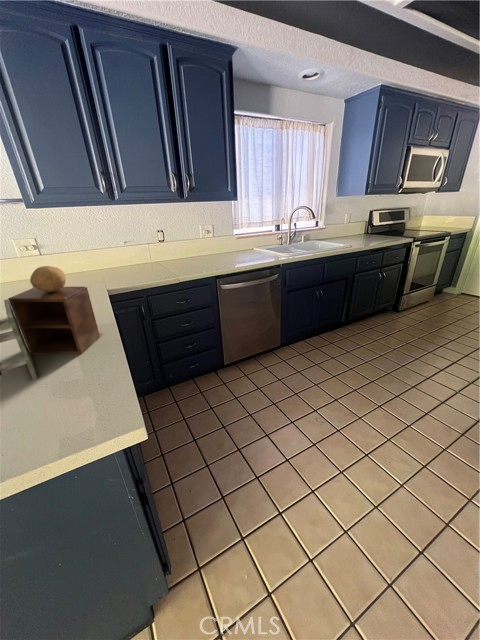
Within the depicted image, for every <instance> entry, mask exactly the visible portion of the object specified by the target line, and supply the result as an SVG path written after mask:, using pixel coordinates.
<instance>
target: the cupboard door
mask: <svg viewBox="0 0 480 640" xmlns="http://www.w3.org/2000/svg"><path fill="white" fill-rule="evenodd" d="M3 302H4V308H5V312H6V319H7V320H8V323H9V325H10V328H11V331H6V332H1V333H0V344H1V343H5V342H9V341H12V340H16V342H17V344H18V348H19V350H20V352H21V354H22V356H19V357H15V358H12V359H9V360H6V361H2V362H1V361H0V371H1V373H2V372H6V371H7V370H11V369H14V368H17V367H21V366H23V365H26V367H27V369H28V371H29V374H30V376H31V378H32V380H33V381H35V380H37V379H38V376H37V373H36V370H35V369H36V368H35V366H34V362H33V359H32V355H31V353H30V352H29V349H28V347H27V344H26V342H25V339H24V337H23V334H22V332H21V329H20V327H19V325H18V322H17V320H16V317H15V315H14V312H13V310H12V307H11V305H10V302H9V300H8V298H7V299H4V300H3Z"/></svg>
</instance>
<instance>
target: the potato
mask: <svg viewBox="0 0 480 640" xmlns="http://www.w3.org/2000/svg"><path fill="white" fill-rule="evenodd" d="M29 278H30V280H29V282H30V284H31V287H34V288H36V289H38V290H40V291H46V292H54V291H58V290H60V289H61V288H62V287H65V286H66V281H67V276H66V274H65V272H64V271H63V269H61V268H58V267H57V266H52V265H44V266H39V267H37V268H36V269H35V270H33V272H32V274H31V275H30V277H29Z"/></svg>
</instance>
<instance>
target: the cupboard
mask: <svg viewBox="0 0 480 640" xmlns="http://www.w3.org/2000/svg"><path fill="white" fill-rule="evenodd" d="M7 299H8V300H9V303H10V305H11V308H12V310H13V313H14V315H15V318H16V320H17V323H18V325H19V328H20V330H21V333H22V335H23V338H24V340H25V343H26V345H27V347H28V350H29V352H30V354H34V355H35V354H36V355H37V354H39V355H41V354H45V355H46V354H47V355H48V354H49V355H50V354H51V355H83V354H84V353H85V352H86V351H87V350H88V349H89V348H90V347H91V346H92V345H93V344H95V343H96V342H97V341H98V340H99V339H100V338H101V335H100V331H99V328H98V324H97V320H96V317H95V313H94V308H93V305H92V301H91V297H90V293H89V290H88V286H63V287H62V288H61V289H60V290H58V291H54V292H46V291H40V290H38V289H36V288H32V287H31V288H30V289H27V290H25V291H23V292H20V293H17V294H15V295H13V296H10V297H8V298H7Z"/></svg>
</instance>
